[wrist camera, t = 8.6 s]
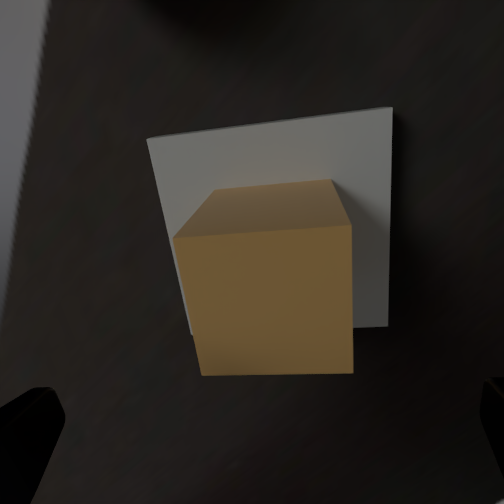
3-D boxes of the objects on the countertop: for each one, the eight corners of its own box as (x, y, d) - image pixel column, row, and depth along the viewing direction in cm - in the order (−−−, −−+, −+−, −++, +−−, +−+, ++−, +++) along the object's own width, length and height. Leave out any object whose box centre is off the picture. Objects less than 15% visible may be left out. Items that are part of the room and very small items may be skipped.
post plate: (382, 313, 19) (416, 396, 13) (196, 321, 20) (162, 399, 15) (385, 106, 15) (434, 111, 10) (156, 136, 16) (91, 153, 11)
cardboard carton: (334, 284, 17) (353, 373, 11) (230, 289, 18) (201, 375, 12) (330, 178, 15) (351, 224, 10) (214, 189, 16) (172, 238, 10)
